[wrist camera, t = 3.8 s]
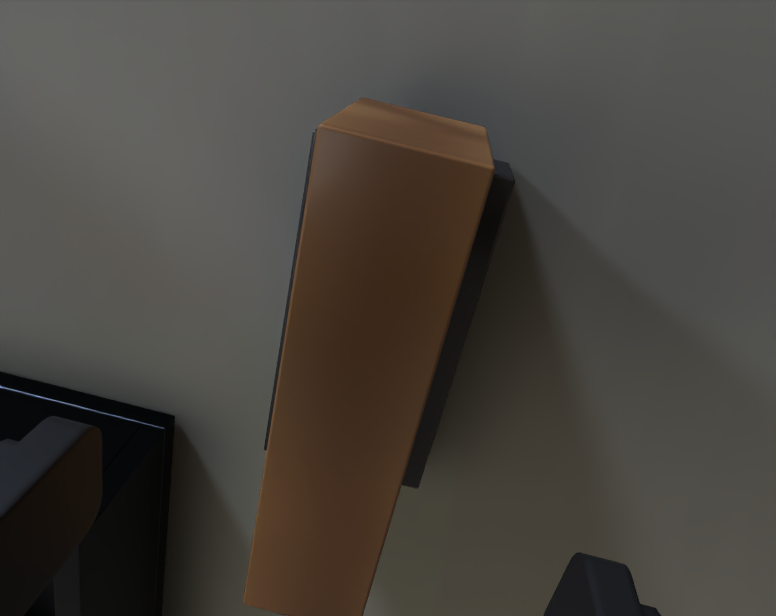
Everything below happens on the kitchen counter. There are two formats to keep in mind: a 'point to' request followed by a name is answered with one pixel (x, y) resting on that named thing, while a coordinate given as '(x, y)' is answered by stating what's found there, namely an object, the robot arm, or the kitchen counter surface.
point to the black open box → (106, 501)
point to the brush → (368, 343)
